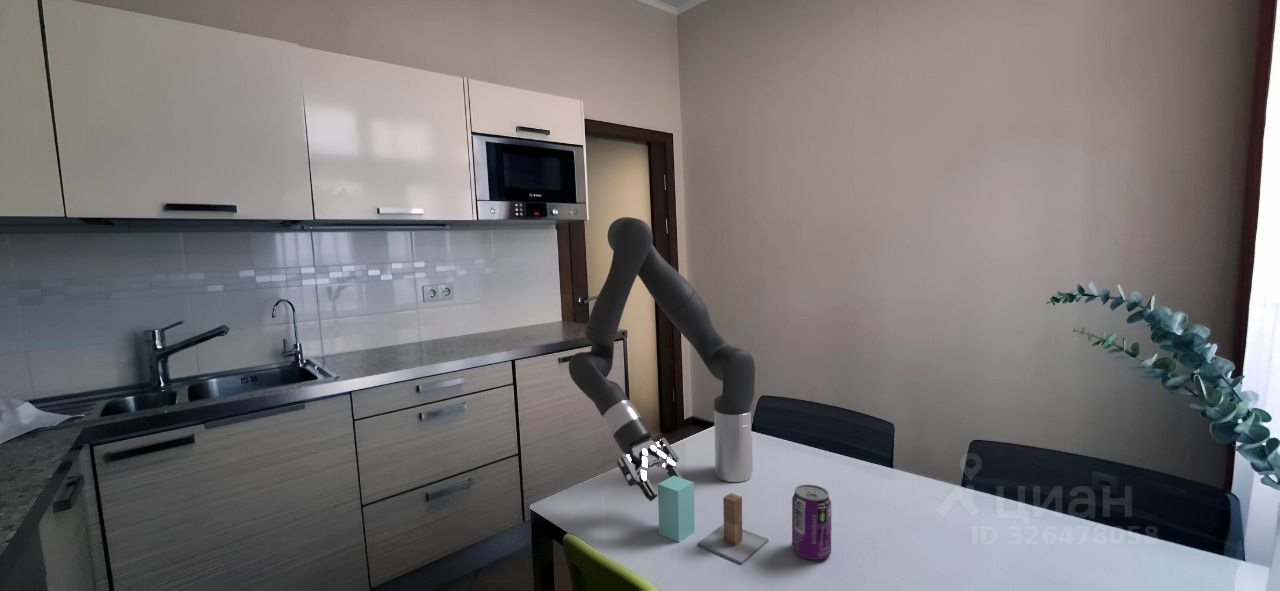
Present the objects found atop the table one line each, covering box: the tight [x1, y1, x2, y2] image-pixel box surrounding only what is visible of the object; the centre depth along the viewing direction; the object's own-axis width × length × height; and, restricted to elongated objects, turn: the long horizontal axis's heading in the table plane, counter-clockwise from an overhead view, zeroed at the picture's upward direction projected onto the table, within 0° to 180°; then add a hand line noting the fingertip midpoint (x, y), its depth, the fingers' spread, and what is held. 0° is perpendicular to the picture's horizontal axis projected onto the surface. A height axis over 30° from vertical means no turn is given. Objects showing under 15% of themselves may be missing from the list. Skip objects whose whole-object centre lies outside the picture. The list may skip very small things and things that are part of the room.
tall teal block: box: [657, 476, 696, 543], centre depth 108 cm, size 5×5×11 cm
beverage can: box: [791, 484, 832, 561], centre depth 100 cm, size 7×7×12 cm
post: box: [697, 492, 769, 565], centre depth 103 cm, size 10×10×10 cm
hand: (667, 491), depth 109 cm, fingers open, 8 cm apart
